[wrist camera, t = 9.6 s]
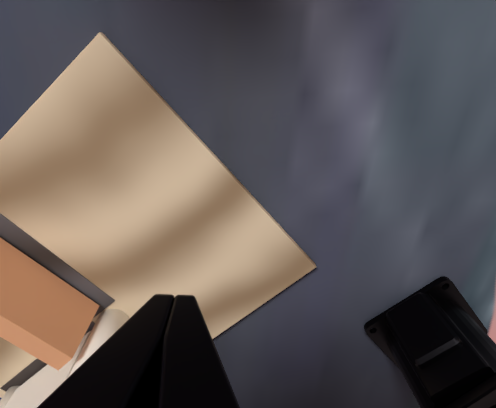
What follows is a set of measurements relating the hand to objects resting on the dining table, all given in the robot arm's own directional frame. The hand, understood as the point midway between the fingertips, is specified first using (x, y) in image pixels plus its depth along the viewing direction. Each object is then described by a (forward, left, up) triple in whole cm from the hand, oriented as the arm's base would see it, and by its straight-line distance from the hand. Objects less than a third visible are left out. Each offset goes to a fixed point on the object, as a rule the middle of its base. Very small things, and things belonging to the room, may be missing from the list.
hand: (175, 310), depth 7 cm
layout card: (-1, +11, -12) cm, 17 cm away
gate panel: (+2, +12, -11) cm, 17 cm away
